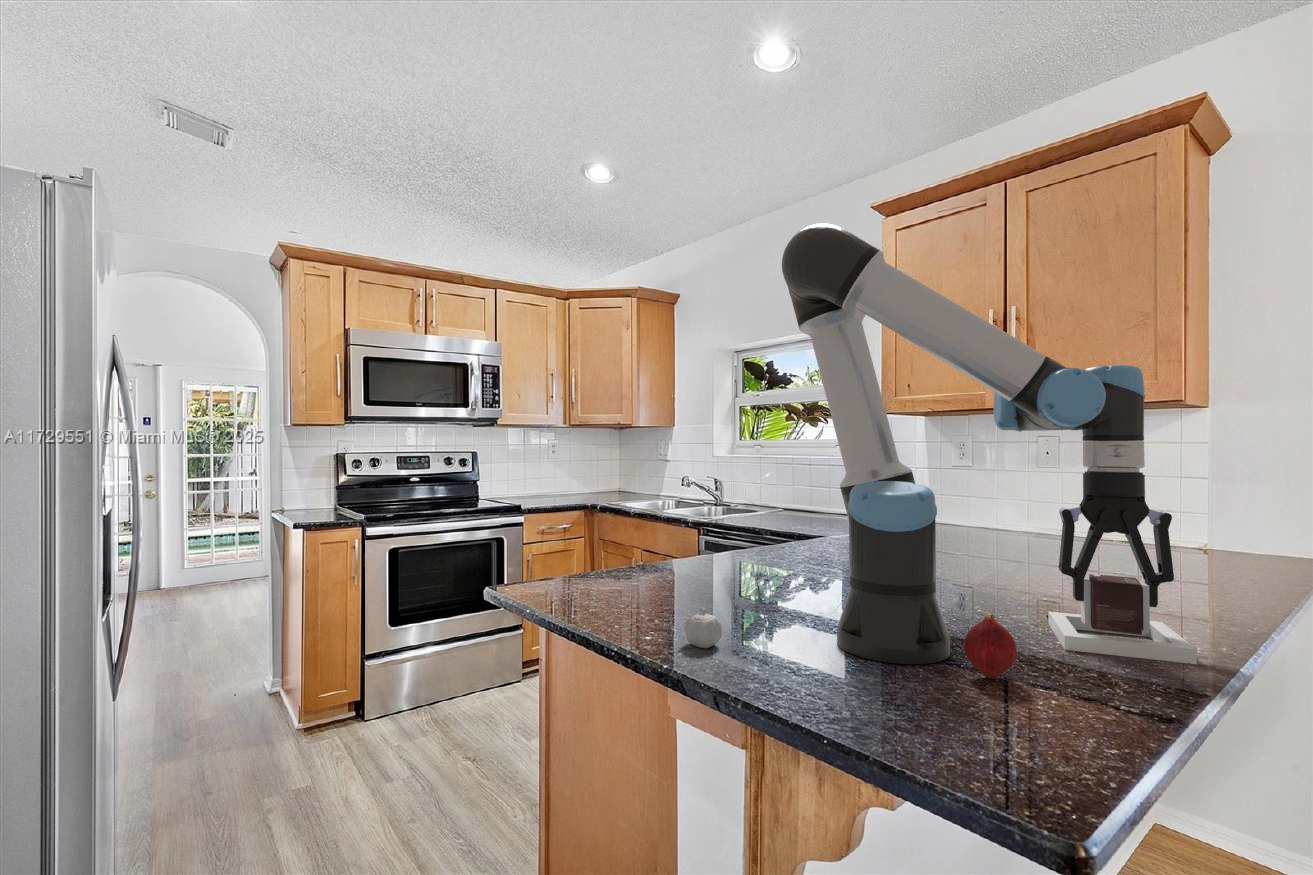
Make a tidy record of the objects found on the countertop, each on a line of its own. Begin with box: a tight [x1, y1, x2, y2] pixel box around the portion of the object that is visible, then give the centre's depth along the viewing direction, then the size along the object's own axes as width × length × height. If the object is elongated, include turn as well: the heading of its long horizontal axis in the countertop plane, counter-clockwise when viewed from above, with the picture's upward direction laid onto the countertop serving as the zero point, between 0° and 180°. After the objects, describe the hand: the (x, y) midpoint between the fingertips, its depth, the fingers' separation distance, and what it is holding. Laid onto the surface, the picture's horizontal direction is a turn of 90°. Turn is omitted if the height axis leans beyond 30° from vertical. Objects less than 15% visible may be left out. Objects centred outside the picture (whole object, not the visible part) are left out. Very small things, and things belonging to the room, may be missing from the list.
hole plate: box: [1048, 611, 1198, 665], centre depth 95 cm, size 15×15×2 cm
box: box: [1088, 573, 1142, 635], centre depth 95 cm, size 6×6×7 cm
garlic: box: [683, 607, 723, 649], centre depth 93 cm, size 6×5×5 cm
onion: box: [963, 612, 1018, 680], centre depth 80 cm, size 6×6×8 cm
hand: (1114, 625), depth 95 cm, fingers closed on box, 6 cm apart
